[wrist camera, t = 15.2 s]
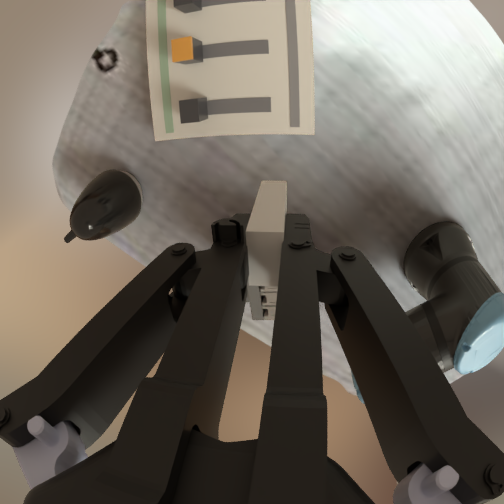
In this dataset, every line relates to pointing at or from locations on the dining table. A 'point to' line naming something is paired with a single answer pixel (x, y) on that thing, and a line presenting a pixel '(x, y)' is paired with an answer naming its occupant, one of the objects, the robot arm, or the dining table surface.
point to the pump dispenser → (105, 206)
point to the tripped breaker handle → (187, 50)
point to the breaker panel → (231, 68)
